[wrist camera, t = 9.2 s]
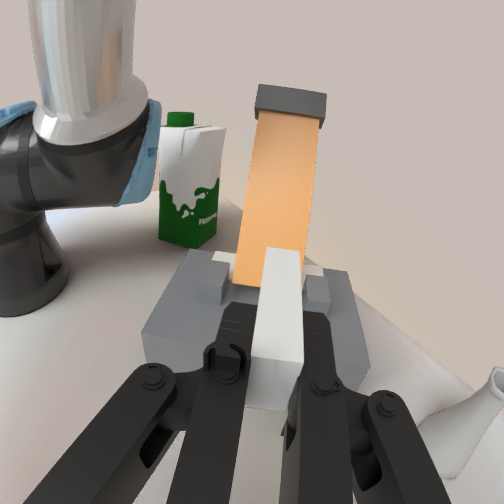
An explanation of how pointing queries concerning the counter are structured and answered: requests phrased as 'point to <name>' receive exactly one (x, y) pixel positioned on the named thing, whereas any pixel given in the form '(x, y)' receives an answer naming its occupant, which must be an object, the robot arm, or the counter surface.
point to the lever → (279, 178)
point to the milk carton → (189, 179)
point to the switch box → (224, 292)
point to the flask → (462, 426)
